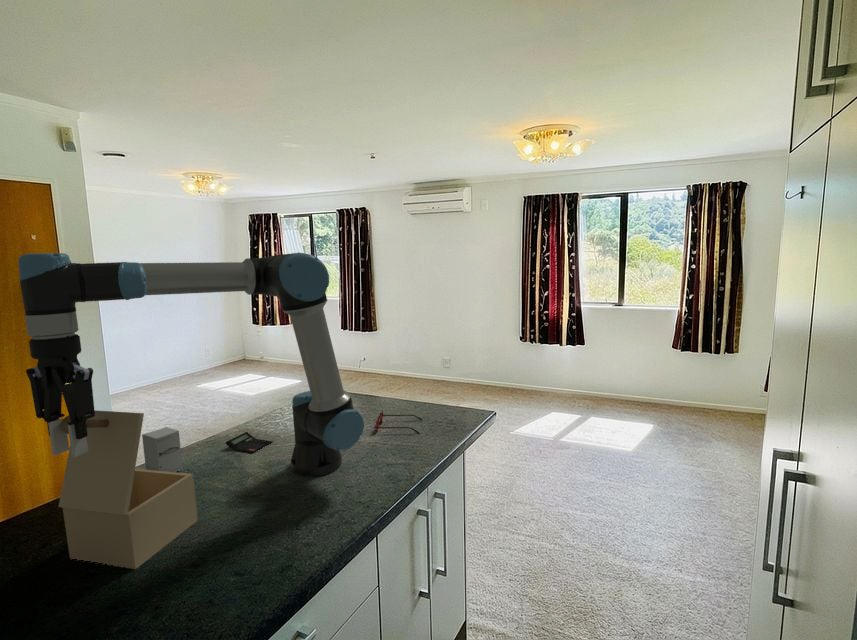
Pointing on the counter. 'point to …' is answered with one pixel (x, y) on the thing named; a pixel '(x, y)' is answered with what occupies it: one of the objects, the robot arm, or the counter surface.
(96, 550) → the carton
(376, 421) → the glasses
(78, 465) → the flap
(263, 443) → the calculator
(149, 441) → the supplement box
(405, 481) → the counter surface
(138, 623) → the counter surface
